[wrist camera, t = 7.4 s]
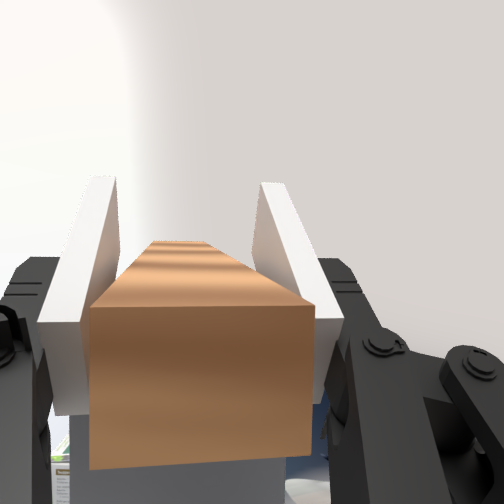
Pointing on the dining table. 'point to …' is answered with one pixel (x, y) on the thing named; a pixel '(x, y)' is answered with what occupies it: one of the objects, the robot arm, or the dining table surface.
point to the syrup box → (60, 473)
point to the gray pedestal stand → (171, 479)
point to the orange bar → (198, 363)
